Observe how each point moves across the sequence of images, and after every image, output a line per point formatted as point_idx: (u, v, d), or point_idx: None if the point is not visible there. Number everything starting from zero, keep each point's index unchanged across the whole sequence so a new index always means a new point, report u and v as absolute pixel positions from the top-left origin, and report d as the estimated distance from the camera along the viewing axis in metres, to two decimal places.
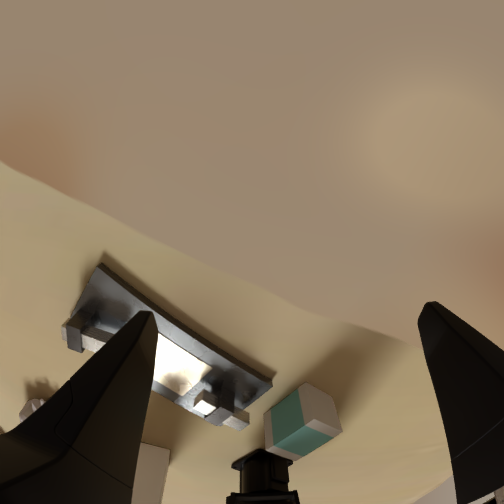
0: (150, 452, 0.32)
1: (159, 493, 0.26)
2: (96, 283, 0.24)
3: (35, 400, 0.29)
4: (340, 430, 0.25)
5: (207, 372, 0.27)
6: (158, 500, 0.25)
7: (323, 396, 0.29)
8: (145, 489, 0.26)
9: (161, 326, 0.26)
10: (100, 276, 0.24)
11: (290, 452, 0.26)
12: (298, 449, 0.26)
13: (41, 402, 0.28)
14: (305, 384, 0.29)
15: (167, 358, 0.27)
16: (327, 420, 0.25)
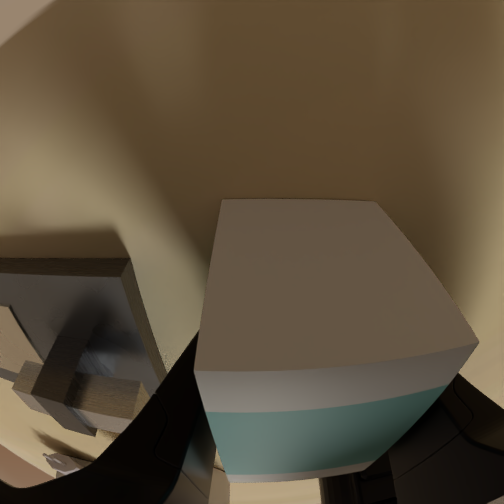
0: None
1: None
2: None
3: None
4: (465, 342, 0.04)
5: (16, 321, 0.09)
6: None
7: (325, 213, 0.07)
8: None
9: None
10: None
11: (314, 471, 0.07)
12: (330, 461, 0.06)
13: (46, 457, 0.21)
14: None
15: None
16: (349, 326, 0.04)
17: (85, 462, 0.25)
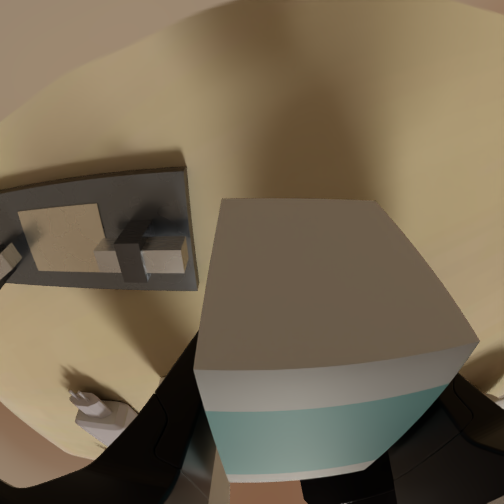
0: None
1: None
2: None
3: (72, 396, 0.31)
4: (465, 341, 0.04)
5: (99, 214, 0.18)
6: None
7: (325, 212, 0.07)
8: None
9: (29, 200, 0.17)
10: None
11: (314, 470, 0.07)
12: (331, 461, 0.06)
13: (71, 394, 0.30)
14: None
15: (60, 232, 0.19)
16: (349, 325, 0.04)
17: (105, 401, 0.33)
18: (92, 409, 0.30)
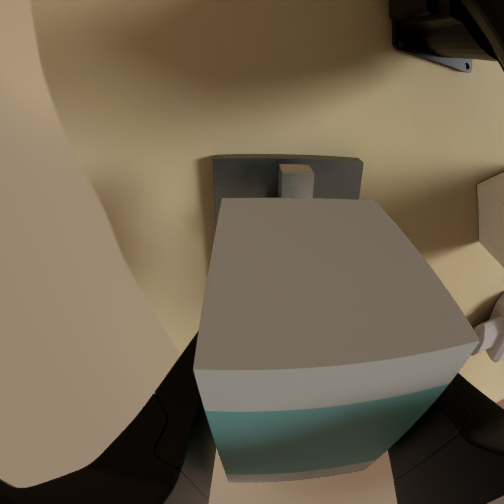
0: (487, 218, 0.18)
1: None
2: None
3: None
4: (465, 341, 0.04)
5: None
6: None
7: (325, 211, 0.07)
8: None
9: None
10: None
11: (314, 470, 0.07)
12: (331, 461, 0.06)
13: None
14: None
15: None
16: (349, 325, 0.04)
17: (491, 316, 0.26)
18: (489, 337, 0.24)
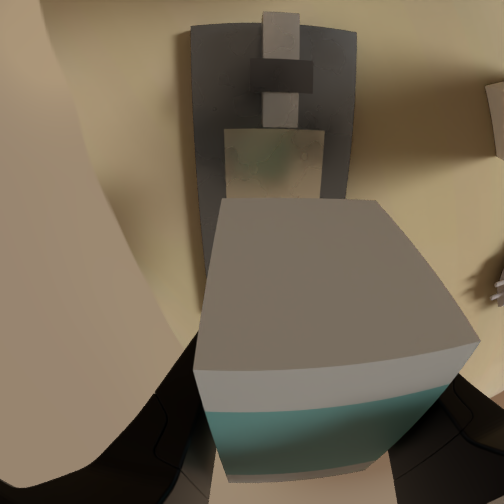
0: (502, 121, 0.14)
1: None
2: None
3: (498, 300, 0.22)
4: (466, 341, 0.04)
5: (239, 129, 0.15)
6: None
7: (326, 211, 0.07)
8: None
9: None
10: None
11: (314, 471, 0.07)
12: (331, 461, 0.06)
13: (495, 297, 0.21)
14: None
15: (261, 193, 0.18)
16: (349, 325, 0.04)
17: None
18: None
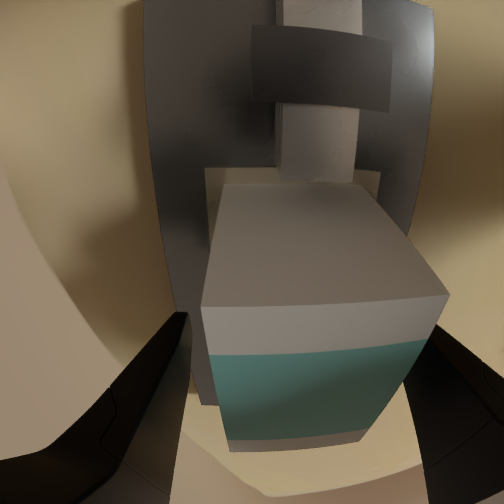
0: None
1: None
2: None
3: None
4: (436, 294, 0.05)
5: (231, 168, 0.09)
6: None
7: (315, 194, 0.08)
8: None
9: (200, 318, 0.12)
10: (209, 399, 0.16)
11: (310, 437, 0.08)
12: (325, 425, 0.07)
13: None
14: None
15: None
16: (330, 276, 0.05)
17: None
18: None
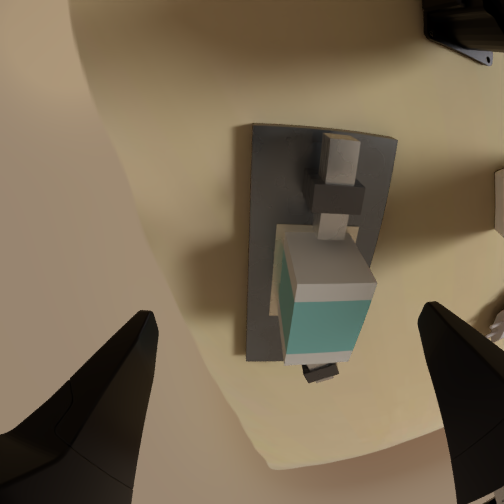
0: None
1: None
2: (262, 356, 0.26)
3: (492, 337, 0.27)
4: (371, 282, 0.15)
5: (289, 224, 0.19)
6: None
7: None
8: None
9: (260, 298, 0.22)
10: (252, 356, 0.26)
11: (324, 353, 0.18)
12: (331, 343, 0.17)
13: (489, 336, 0.26)
14: (285, 235, 0.19)
15: None
16: (335, 275, 0.15)
17: None
18: None
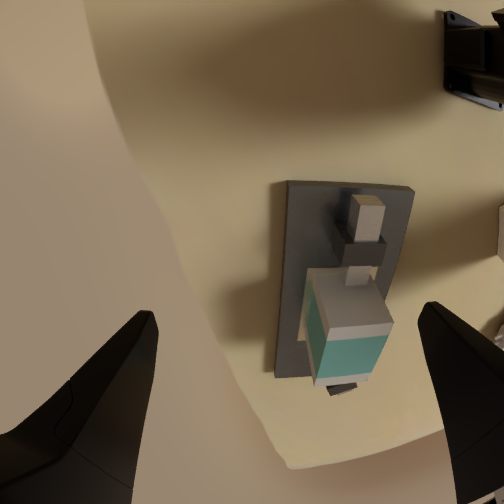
0: None
1: None
2: (289, 373, 0.29)
3: None
4: (389, 322, 0.17)
5: (318, 268, 0.21)
6: None
7: None
8: None
9: (290, 327, 0.25)
10: (280, 373, 0.29)
11: (348, 375, 0.20)
12: (354, 368, 0.20)
13: None
14: (315, 278, 0.21)
15: None
16: (360, 317, 0.18)
17: None
18: None
